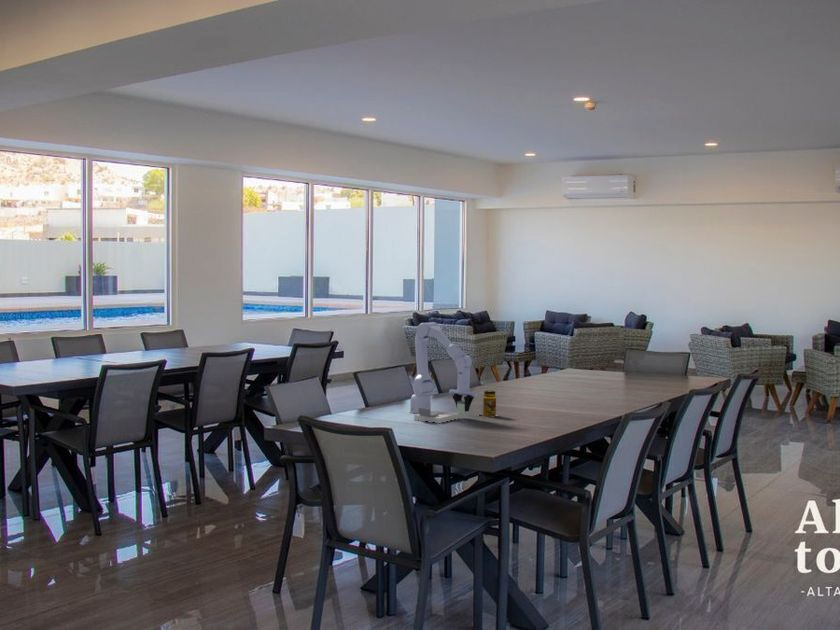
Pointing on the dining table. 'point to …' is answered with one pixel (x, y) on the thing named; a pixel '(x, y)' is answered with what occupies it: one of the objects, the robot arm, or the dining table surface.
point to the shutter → (427, 412)
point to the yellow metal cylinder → (489, 404)
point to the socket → (438, 417)
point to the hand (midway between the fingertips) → (462, 410)
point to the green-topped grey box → (461, 408)
